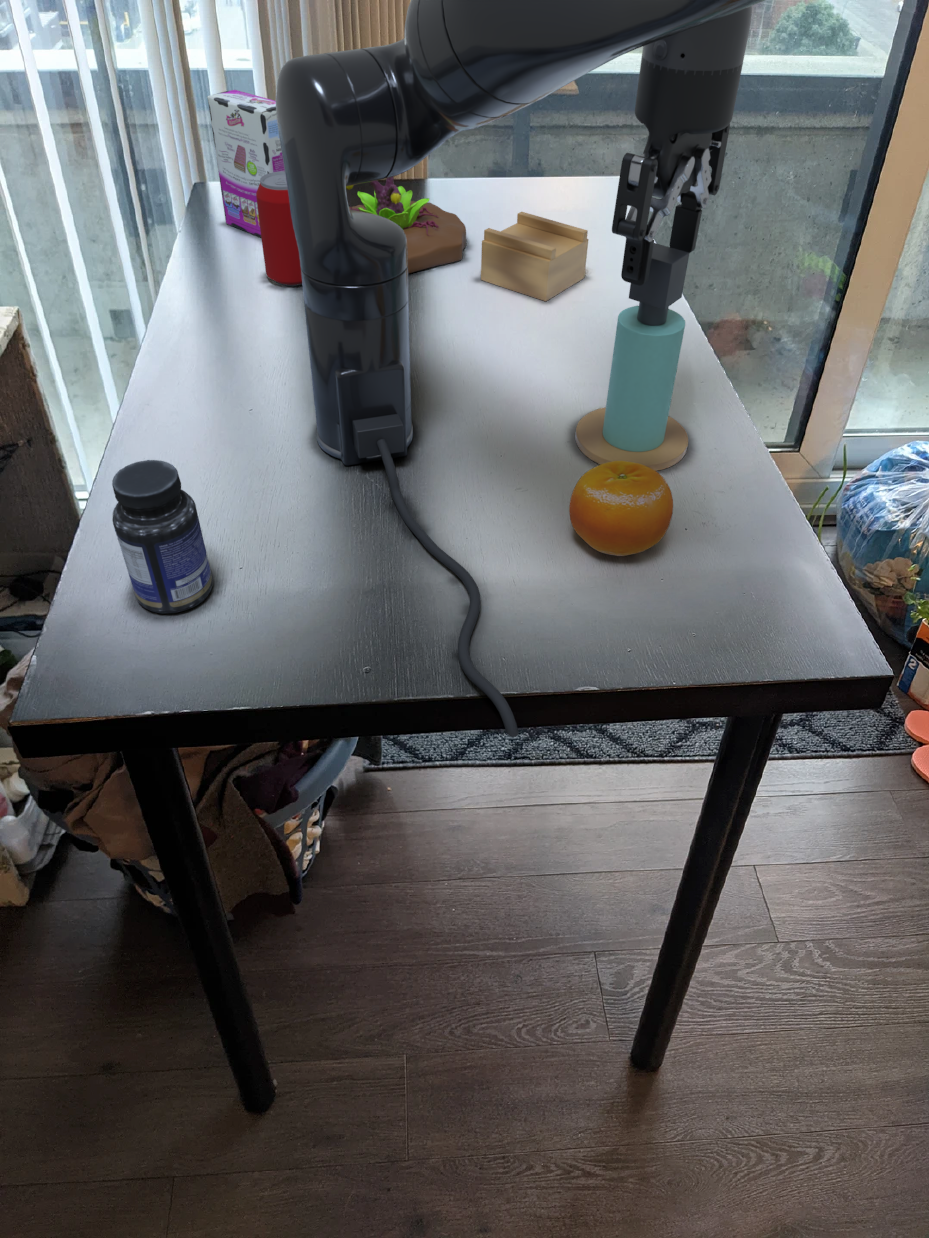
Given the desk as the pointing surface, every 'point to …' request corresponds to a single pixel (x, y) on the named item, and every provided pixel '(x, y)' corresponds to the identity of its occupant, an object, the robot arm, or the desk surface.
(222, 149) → the candy bar box
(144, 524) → the pill bottle
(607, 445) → the coaster
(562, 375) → the desk surface
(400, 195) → the plant
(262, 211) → the beverage can
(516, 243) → the cradle
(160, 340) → the desk surface
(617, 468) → the fruit
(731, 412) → the desk surface
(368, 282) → the robot arm
